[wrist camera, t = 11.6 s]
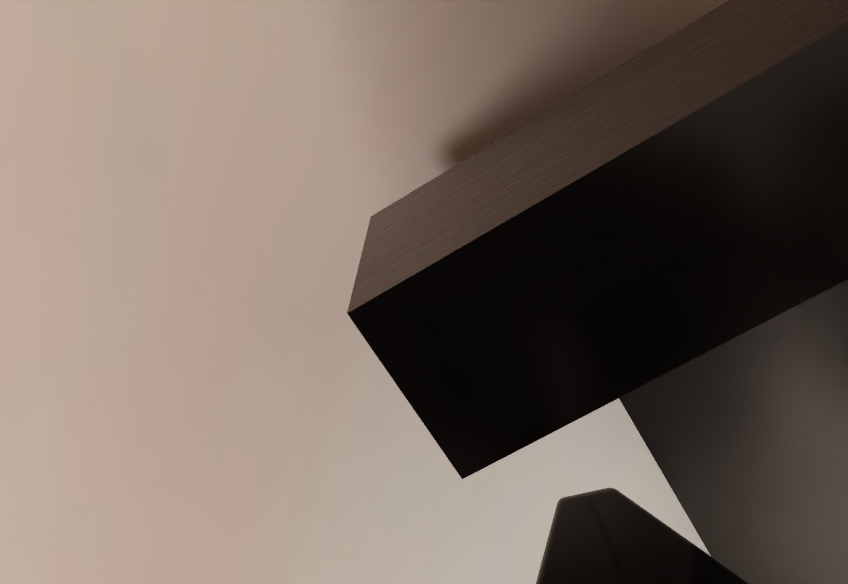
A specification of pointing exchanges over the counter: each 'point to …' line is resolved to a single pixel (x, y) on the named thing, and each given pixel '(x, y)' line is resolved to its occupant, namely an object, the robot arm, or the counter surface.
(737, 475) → the crank arm
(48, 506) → the counter surface
